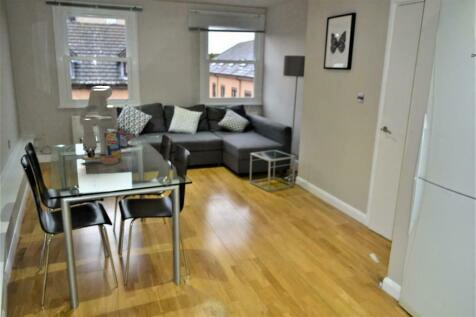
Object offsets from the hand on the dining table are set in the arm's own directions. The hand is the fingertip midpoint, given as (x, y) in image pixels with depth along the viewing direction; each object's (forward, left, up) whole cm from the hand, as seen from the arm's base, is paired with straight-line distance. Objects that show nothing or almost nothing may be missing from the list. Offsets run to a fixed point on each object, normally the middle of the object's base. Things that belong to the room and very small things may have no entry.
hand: (91, 156), depth 299 cm
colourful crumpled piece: (-62, -32, -6) cm, 70 cm away
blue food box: (-21, +3, -6) cm, 22 cm away
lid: (0, 0, -1) cm, 1 cm away
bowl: (-7, +13, -6) cm, 15 cm away
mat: (+1, +1, -6) cm, 6 cm away
